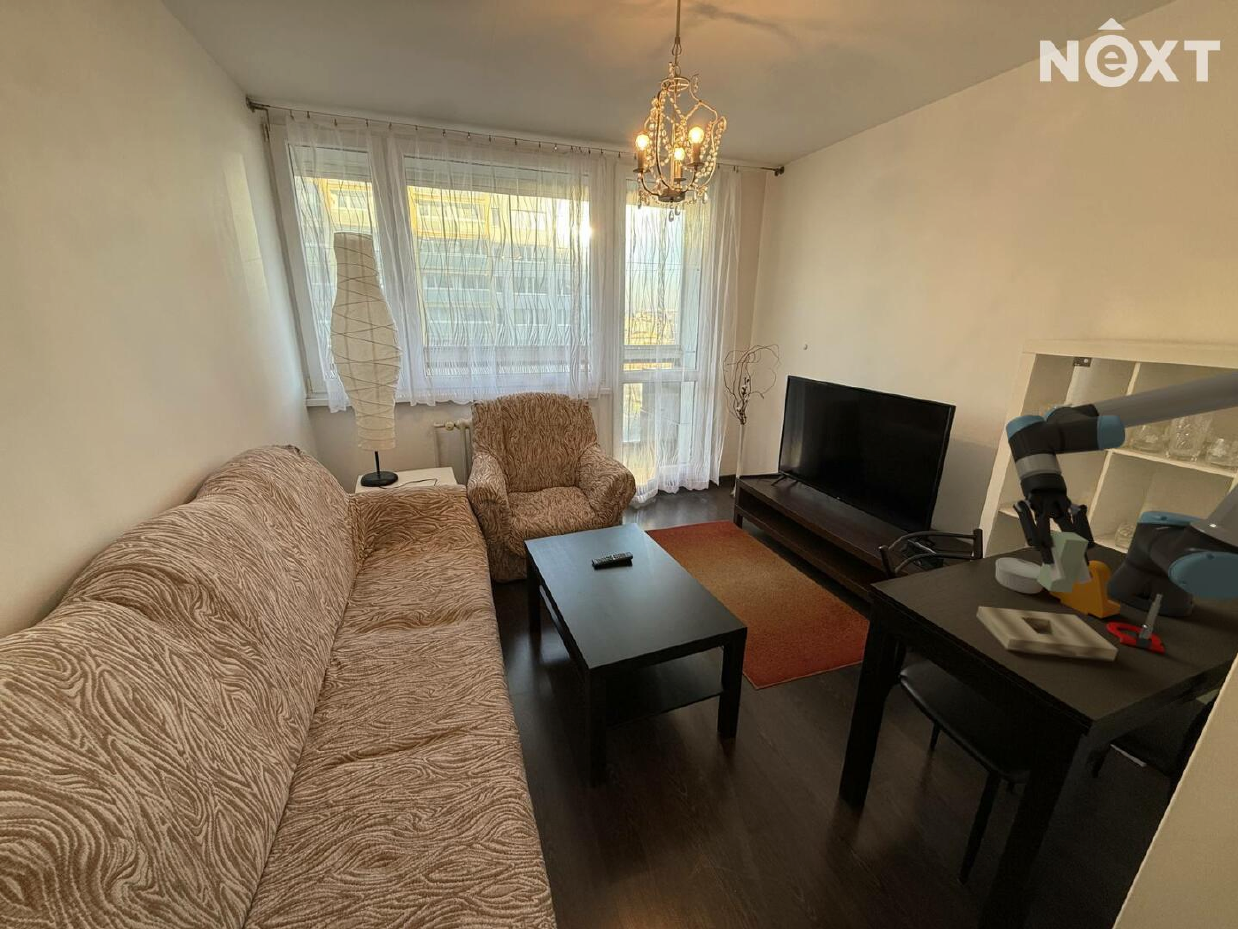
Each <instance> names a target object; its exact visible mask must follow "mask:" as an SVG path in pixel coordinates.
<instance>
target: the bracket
mask: <svg viewBox="0 0 1238 929" xmlns="http://www.w3.org/2000/svg"><path fill="white" fill-rule="evenodd" d="M1089 563H1090V565H1089V566H1087V567H1088V570H1089V573H1090V576H1091V579H1092V581H1090V582H1087V583H1083V584H1078V583H1077V579H1075V582H1074V585H1073V588H1072V591H1071V593H1067V592H1056V591H1049V595H1051V596H1053V597H1055V598H1057V599H1060V603H1062V604H1063V605H1066V606H1068V607H1070V608H1072V609H1075V610H1076V611H1078V612H1080V613H1082V614H1085V615H1093V616H1095V617H1097V618H1099V619H1103V618H1107V617H1112V616H1113V615H1117V614H1119V612H1120V610H1121V607H1122V605H1121V604H1119V603H1117V602H1115V601H1113V600H1110V599H1109V597H1108V592H1107V589H1106V582H1108V581H1109V580H1110V578H1111V576H1112V572H1111V569H1110V568H1109V567H1108V566H1107V564H1105V562H1102V561H1099V560H1089Z"/></svg>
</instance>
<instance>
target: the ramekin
mask: <svg viewBox="0 0 1238 929" xmlns="http://www.w3.org/2000/svg"><path fill="white" fill-rule="evenodd" d="M1041 567H1042V565H1041V566H1040V565H1038V564H1036V563H1034V562H1031V561H1027V560H1024V559H1021V558H1015V557H1000V558H997V559H996V561H995V579H996V581H997V582H998V583H999V584H1000V585H1001V586H1003V587H1005V588H1007V589H1009V590H1012V591H1015V592H1018V593H1023V594H1029V595H1030V594H1032V595H1033V594H1038V593H1040V592H1041V591H1042V590H1043V589H1044V588H1045V587H1044V586H1043V585H1041V584H1040V583H1039V582H1038V581H1037V579H1038V576H1039V573H1040V570H1041Z"/></svg>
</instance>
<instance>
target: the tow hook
mask: <svg viewBox="0 0 1238 929" xmlns="http://www.w3.org/2000/svg"><path fill="white" fill-rule="evenodd" d="M1162 596H1163V595H1162V594H1157V596H1156V599H1155V601H1154V602H1153V603H1152V605H1151V608H1150V611H1148V614H1147V617H1146V619H1145V622H1144V624H1143V625H1142V626H1141V627H1138V626H1135V625H1132V624H1128V623H1124V622H1117V621H1115V622H1114V621H1112V622H1108V623H1107V624H1106V629H1107V631H1109V633H1110V634H1112V635H1114V636H1116V637H1117V638H1118V639H1119V643H1122V644H1126V645H1129V646H1134V647H1135V648H1140V649H1142V650H1143V649H1144V650H1150V651H1154V652H1158V653H1161V654H1163V653H1164V652H1165V647H1164V646H1163V645H1161V644H1162V641H1161V639H1160V638H1159V637H1158V636H1156V635H1155V634H1153V631H1154V624H1155V621H1156V618H1157V615H1158V614H1157V613H1158V611H1159V608H1160V605H1161V604H1160V601H1161V598H1162ZM1118 629H1122V630H1128V631H1131V632H1135V636H1134V638H1132V637H1131V636H1129V635H1127V634H1125V633H1123V632H1121V631H1120V630H1118Z"/></svg>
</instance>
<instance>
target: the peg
mask: <svg viewBox="0 0 1238 929" xmlns="http://www.w3.org/2000/svg"><path fill="white" fill-rule="evenodd" d="M1088 542H1089V541H1087V540H1086V539H1084V538H1082V537H1081V536H1079V535H1077V534H1076V533H1071V532H1061V531H1057V530H1056V531H1055V530H1054V531H1052V532H1051V547H1050V548H1052V547H1055V548H1057V552H1058V555H1059V558H1060V561H1061V565H1062V568H1063V571H1064V575H1065V579H1063V580H1060V581H1057V582H1053V581H1052V579H1051V575H1050V572H1049V568H1048V565H1047V564H1044V562H1043V561H1042V564H1041V570H1040V573H1039V576H1038V579H1037V581H1038V582H1039V583H1040V584H1041V585H1043V586H1044V587H1043V588H1045V589H1046V590H1048V592H1050V591H1056V592H1067V593H1071V591H1072V588H1073V585H1074V582H1075V579H1076V576H1077V573H1078V570H1079V567H1080V565H1081V562H1082V559H1083V556H1084V553H1085V550H1086V548H1087V545H1088ZM1086 551H1087V550H1086Z"/></svg>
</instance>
